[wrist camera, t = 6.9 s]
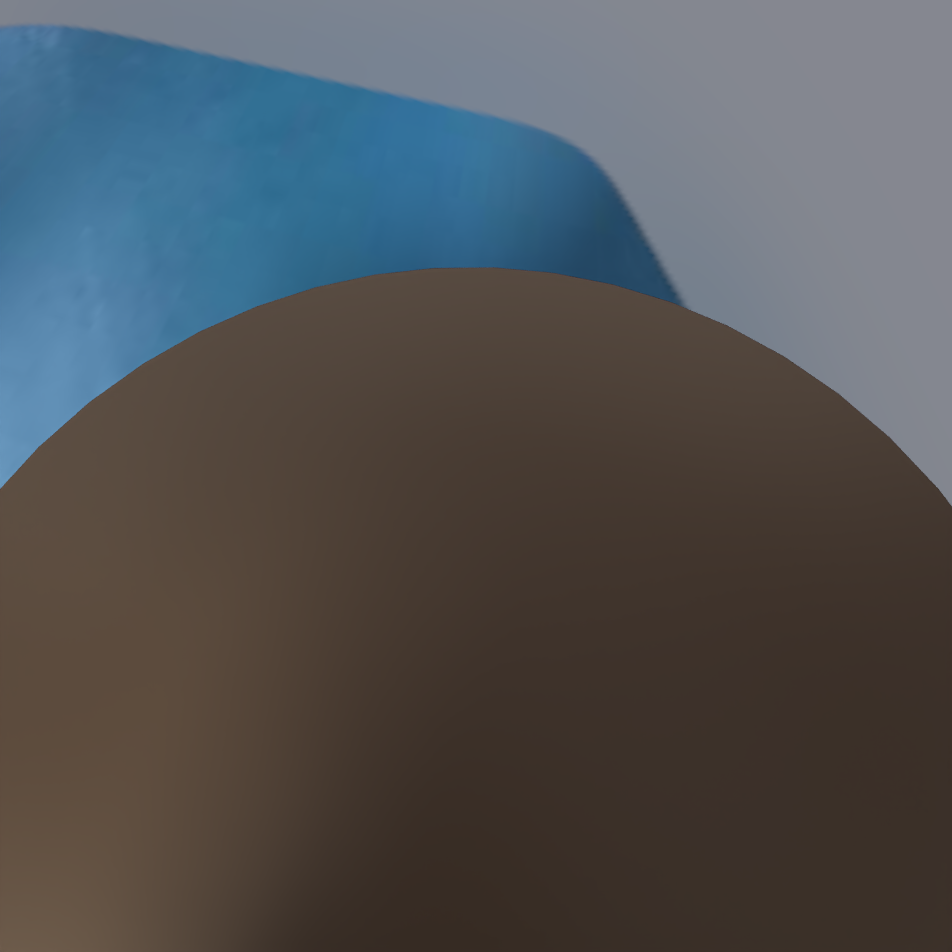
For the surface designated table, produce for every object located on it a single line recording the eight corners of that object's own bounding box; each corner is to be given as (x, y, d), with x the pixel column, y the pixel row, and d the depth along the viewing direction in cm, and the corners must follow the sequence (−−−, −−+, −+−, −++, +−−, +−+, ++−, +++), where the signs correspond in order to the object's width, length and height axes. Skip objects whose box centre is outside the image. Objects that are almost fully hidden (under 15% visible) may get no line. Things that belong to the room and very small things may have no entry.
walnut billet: (683, 1030, 15) (1419, 1366, 3) (330, 1121, 14) (-294, 1933, 3) (587, 685, 17) (805, 204, 6) (289, 749, 17) (-105, 353, 5)
